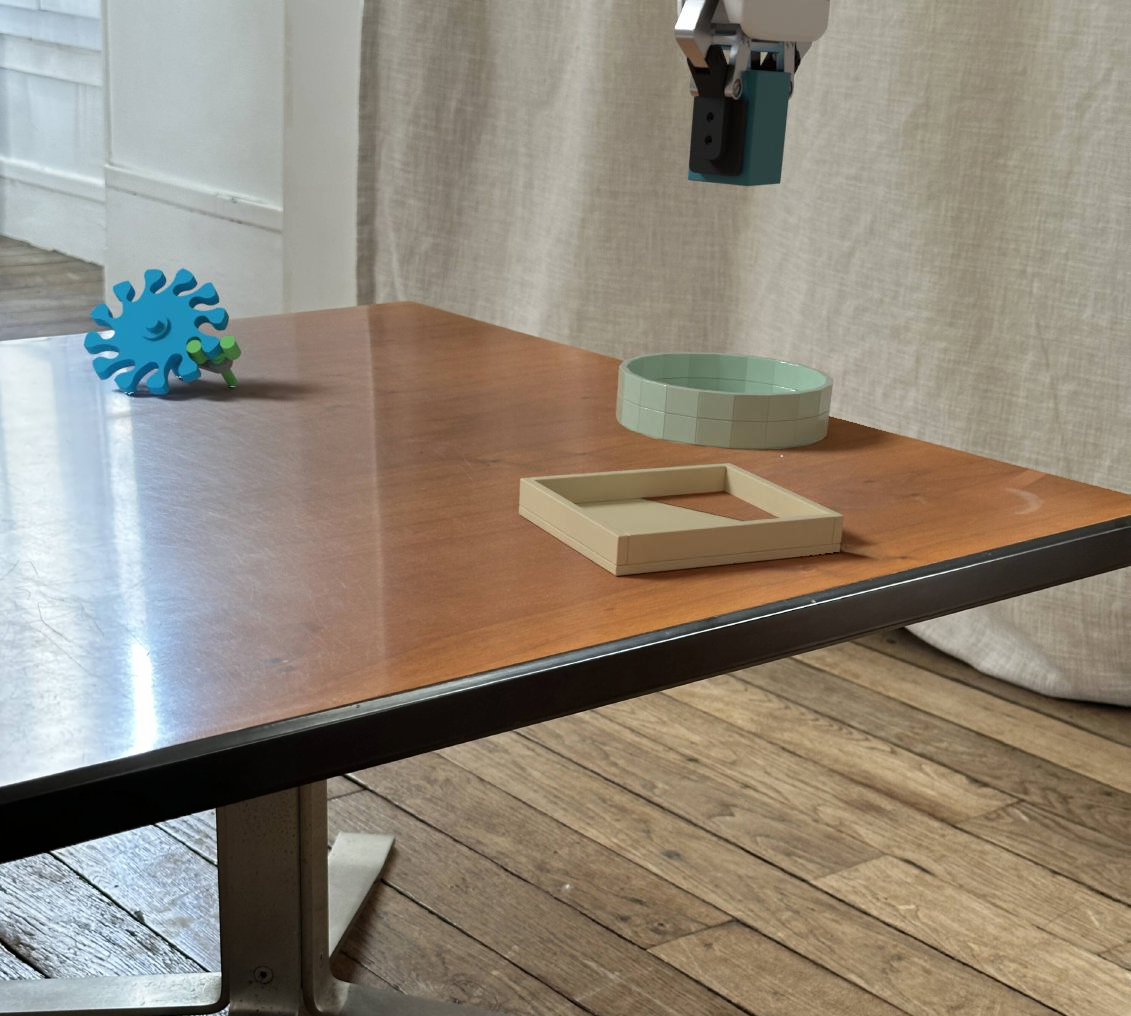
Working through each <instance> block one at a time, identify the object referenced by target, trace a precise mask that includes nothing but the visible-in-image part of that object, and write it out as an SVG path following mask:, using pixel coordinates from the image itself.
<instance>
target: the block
mask: <svg viewBox="0 0 1131 1016" xmlns="http://www.w3.org/2000/svg"><path fill="white" fill-rule="evenodd" d="M790 81H791V73H790V72H776V71H760V70H746V74H745V80H744V85H743V91H742V94H741V97H740V98H739V99H738V100H748V110H747V121H746V132H745V144H744V155H743V166H742V172H741V174H740V175H738V176H722V175H712V174H702V173H694V172H692V171H691V170H690V169H689V168H688V174H687V180H688V181H691V182H692V181H693V182H702V183H710V184H721V185H722V184H723V185H730V186H740V187H756V186H757V187H758V186H767V185H769V186H770V185H780V184H781V182H782V181H781V180H782V172H783V161H784V150H785V142H786V141H785V140H786V132H785V131H787V122H788V121H787V120H788V112H787V111H788V110H789V101H790V99H789V91H790ZM786 121H787V122H786Z"/></svg>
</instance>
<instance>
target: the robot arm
mask: <svg viewBox="0 0 1131 1016" xmlns="http://www.w3.org/2000/svg"><path fill="white" fill-rule="evenodd" d="M676 1H677V2H676V3H677V4H676V5H677V6H676V7H677V8H676V9H677V10H676V11H677V21H676V24H675V27H674V39H675V41H676V43H677V44H678V46H679V48H680V50H681V51H682V53H683V54H684V56H685V58H686V63H687V67H688V69H689V71H690V74H691V75H690V81H689V92H690V95H691V96H692V97H693V105H692V120H691V130H690V143H689V144H690V146H689V156H688V157H689V159H688V170H689V169H690V170H691V171H692V172H694V173H702V174H712V175H722V176H738V175H740V174H741V172H742V166H743V155H744V144H745V132H746V121H747V110H748V100H738V99H739V98H740V97H741V94H742V91H743V85H744V80H745V74H746V70H760V71H776V72H790V73H791V81H790V91H789V100H791V99H792V98H793V95H794V89H795V74H796V73H797V71H798V69H799V67H800V65H801V62H802V59H804V57H805V56H806V54H807V53H808V52H809V50H810V49H811V47H812V46H813V43H814V42H816V41H818V40H820V39H821V38H822V37H823V35H824V34H825V33H826V31H827V29H828V25H829V18H830V7H831V0H676ZM724 51H729V57H728V61H727V58H726V55H725V52H724ZM762 53H766V55H765V57H764V58H763V60H762V59H761V57H762V56H761V55H762ZM787 113H788V111H787ZM787 122H788V121H786V123H787ZM786 131H787V130H786ZM786 131H785V133H786Z"/></svg>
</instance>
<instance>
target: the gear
mask: <svg viewBox="0 0 1131 1016" xmlns="http://www.w3.org/2000/svg"><path fill="white" fill-rule="evenodd" d="M143 278H144V282H145V283H144V288H143V291H142V293H141V294H140V296H139V298H138V299H137V300H134V299H135V297H136V290H135V288H134V286H133V285H132V284H131V282H130V280H124V281H120V282H119V283H116V284H114V285H113V286H112V292H113V294H114V295H115V297H116V298H117V300H118V301H119V302H120V303H121V305H122V306H121V307H122V312H121V314H120V315H119V316H118V317H115V318H114V314H113V313H112V310H110V307H109V306H108V305H107V304H106V303H104V302H100V303H99V304H97V305H96V306H95V307H94V308H93V310H92V311H91V312H90V313H89V315H90V317H91V319H92V320H93V321H94V323H95V324H96V325H97V326H98V327H105V328H109V329H111V330H112V331H114V333H113V335H112V336H111V337H109V338H103V337H102V336H101V335H100V334H99V333H98V331H94V330H91V331H88V332H87V333H86V335H85V337H84V341H83V347H84V348H85V350H86V351H87V353H88V354H90V355H98V354H101V353H105V352H113V353H117V356H115V357H112V358H109V357H105V356H97V357H96V358H95V357H94V359H92V367H93V370H94V372H95V374H96V375H97V376H98V378H99V379H100V381H105V380H108V379H110V378H111V377H112V376H113V375H114V374H115V373H117V372H118V371H120V370H122V369H123V370H124V369H126V368H130V367H133V368H132V369H131V370H129V371H123V372H120V373H118V374H117V375H116V376H115V377H114V379H113V380H114V383H115V385H116V386H117V387H118V388H119V390H120V391H121V390H122V391H124V392H127V393H130V392H134V393H135V392H136V391H137V389H138V386H139V384H140V382H141V381H142V379H143V378H144V377H145V376H146V375H148V374H149V373H151V372H152V371H154V370H156V371H155V372H154V373H152V374H151V375H150V376H148V378H147V379H146V381H145V385H146V388H147V389H148V391H149V392H150V393H151V394H152V395H159V396H161V395H167V394H168V393H169V391H170V384H169V374H170V372H172V374H173V375H174V376H175V377H176V376H178V377H179V376H181V377H182V379H181V380H183V382H184V383H191V382H194V381H197V379H201V378H202V372H201V370H204V371H207V372H211V373H214V374H218V375H221V377H222V378H223V380H224V382H225V383H226V385H227V386H228V385H229V386H236V387H237V386H238V385H239V382H238V380H237V378H236V376H235V374H234V373H233V370H232V369H231V368H232V367H233V365H234V361H235V360H238V359H239V358H240V357H241V355H242V349H241V348H240V347H239V344H238V343H237V341H236V339H235V337H234V336H233V335H225V336H223V337H222V338H221V339H219V337H217V336H215V335H209V334H205V333H203V332H202V331H200V330H199V328H200V327H201V325H204V324H210V325H211V326H212V328H213V329H215V330H216V331H219V332H223V331H226V329H227V327H228V325H229V322H230V321H229V320H230V316H229V314H228V311H227V309H226V308H224V307H215V308H213V309H208V310H200V309H197V308H196V306H198V305H206V306H209V307H212V306H216V305H218V304H219V303H220V296H219V294H218V292H217V290H216V288H215V286H214V283H213V282H206V283H204V284H202V285H201V286H200V287H199V288H198V289H196V290H195V288H196V287H198V284H199V283H198V281H197V279H196V277H195V276H194V273H192V272H191V271H190V270H188V269H186V268H184V267H182V268H180V269H179V270H178V271H176V273H175V276H174V278H173V281H172V282H171V283H170V284H169V285H168V286H167V287H166V288H164V287H165V285H166V284H167V277H166V275H165V274H164V272H163V270H161V269H158V268H157V269H156V268H150V269H146V270H145V271H144V273H143ZM163 288H164V289H163ZM161 289H163V290H161ZM159 290H161V291H160V292H158V291H159ZM192 290H195V291H193V292H190V291H192ZM188 291H189V292H190V293H187V294H183V295H180V294H181V293H184V292H188ZM157 292H158V293H157ZM200 369H201V370H200ZM122 391H121V392H122ZM124 392H123V393H124Z"/></svg>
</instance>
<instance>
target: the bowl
mask: <svg viewBox="0 0 1131 1016" xmlns="http://www.w3.org/2000/svg"><path fill="white" fill-rule="evenodd" d="M833 385H834V377H832V376H831V375H829V374H828V373H826V372H825V371H823V370H820V369H816V368H815V367H811V366H809V365H805V364H803V363H802V364H801V363H796V362H793V361H787V360H783V359H777V358H770V357H763V356H757V355H749V354H738V353H725V352H711V351H710V352H708V351H707V352H706V351H705V352H704V351H676V352H657V353H649V354H648V353H647V354H642V355H641V354H640V355H635V356H633V357H630V358H627V359H624V360H623V361H622V362H621V363H620V364H619V366H618V375H617V392H616V393H617V394H616V404H615V405H616V406H615V418H616V419H617V421H618V423H619V424H620V425H622V427H624V428H626V429H627V430H630V431H632V432H634V433H637V434H639V435H643V436H645V437H650V438H653V439H657V440H661V441H665V442H671V443H677V444H681V445H688V446H695V447H704V448H714V449H727V450H779V449H791V448H798V447H803V446H809V445H812V444H815V443H817V442H820V441H822V440H823V439H824V438H826V437H827V435H828V427H829V419H830V411H831V403H832V394H833V387H834V386H833Z"/></svg>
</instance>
